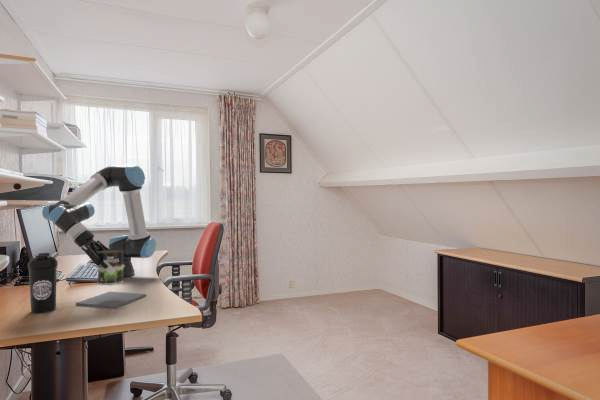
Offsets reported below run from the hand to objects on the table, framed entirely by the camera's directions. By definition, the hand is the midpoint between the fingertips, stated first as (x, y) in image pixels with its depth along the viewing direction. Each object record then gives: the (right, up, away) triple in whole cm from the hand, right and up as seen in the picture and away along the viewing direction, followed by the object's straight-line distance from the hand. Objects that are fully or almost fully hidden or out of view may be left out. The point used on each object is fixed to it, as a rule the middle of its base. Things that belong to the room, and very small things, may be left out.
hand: (118, 270), depth 172 cm
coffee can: (-3, -6, 0) cm, 6 cm away
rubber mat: (-3, -13, 0) cm, 14 cm away
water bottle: (-24, -14, -14) cm, 31 cm away
